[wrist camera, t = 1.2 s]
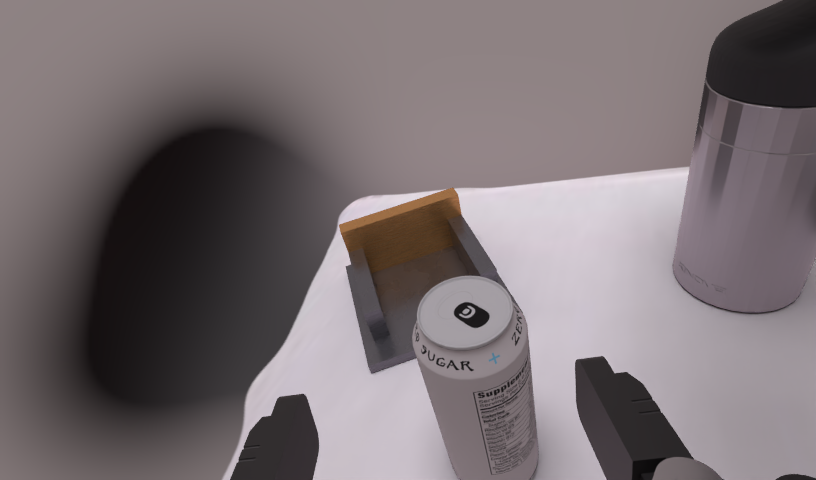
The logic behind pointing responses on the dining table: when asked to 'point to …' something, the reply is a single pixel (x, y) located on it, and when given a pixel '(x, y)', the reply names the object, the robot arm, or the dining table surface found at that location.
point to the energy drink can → (478, 377)
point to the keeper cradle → (407, 269)
